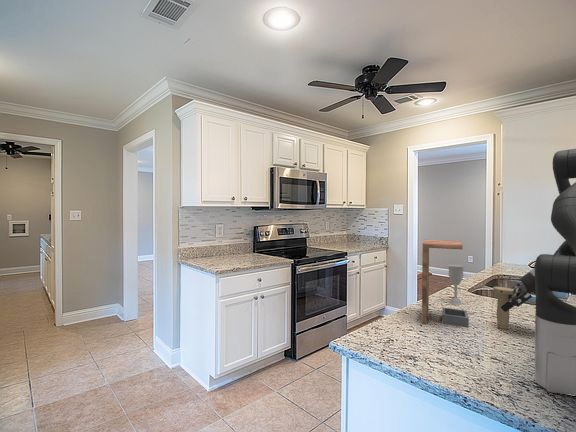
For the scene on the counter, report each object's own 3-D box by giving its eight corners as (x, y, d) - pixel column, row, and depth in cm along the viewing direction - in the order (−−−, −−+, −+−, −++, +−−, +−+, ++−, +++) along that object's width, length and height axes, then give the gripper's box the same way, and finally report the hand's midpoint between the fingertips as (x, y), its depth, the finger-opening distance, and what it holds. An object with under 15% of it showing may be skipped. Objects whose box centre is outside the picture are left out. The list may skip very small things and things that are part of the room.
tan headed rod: (511, 332, 113) (511, 291, 113) (490, 327, 118) (491, 288, 118) (514, 329, 116) (515, 289, 116) (495, 324, 121) (495, 286, 121)
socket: (468, 327, 118) (468, 318, 118) (442, 323, 122) (442, 314, 122) (466, 319, 127) (467, 310, 127) (442, 315, 131) (442, 307, 131)
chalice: (443, 302, 150) (444, 265, 149) (453, 300, 153) (453, 264, 152) (457, 306, 143) (458, 267, 143) (467, 304, 146) (467, 266, 146)
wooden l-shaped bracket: (461, 329, 115) (462, 245, 115) (421, 323, 121) (422, 243, 121) (459, 315, 131) (460, 240, 131) (424, 310, 137) (425, 239, 137)
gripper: (525, 268, 119) (490, 294, 125) (535, 275, 107) (495, 303, 112) (543, 283, 117) (505, 308, 122) (554, 292, 104) (512, 320, 110)
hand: (500, 306), depth 117 cm, fingers open, 8 cm apart
